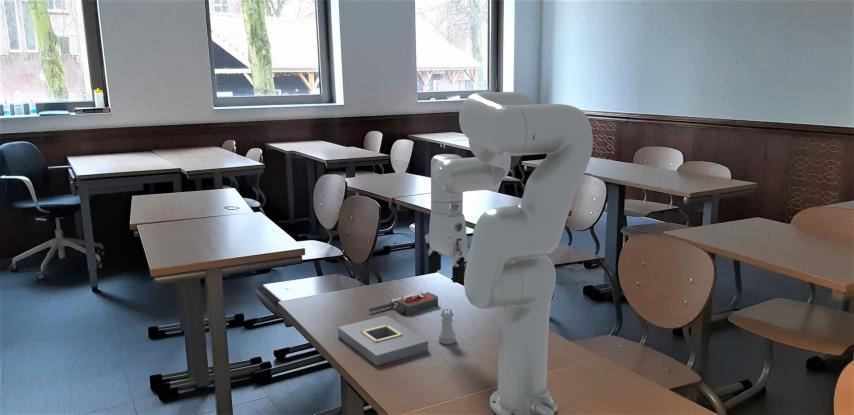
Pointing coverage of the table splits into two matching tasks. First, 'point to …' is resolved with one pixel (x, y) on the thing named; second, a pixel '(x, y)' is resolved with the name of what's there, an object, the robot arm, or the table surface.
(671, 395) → the table surface
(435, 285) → the table surface
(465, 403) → the table surface
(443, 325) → the rook chess piece
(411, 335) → the socket board
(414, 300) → the red gray switch box
